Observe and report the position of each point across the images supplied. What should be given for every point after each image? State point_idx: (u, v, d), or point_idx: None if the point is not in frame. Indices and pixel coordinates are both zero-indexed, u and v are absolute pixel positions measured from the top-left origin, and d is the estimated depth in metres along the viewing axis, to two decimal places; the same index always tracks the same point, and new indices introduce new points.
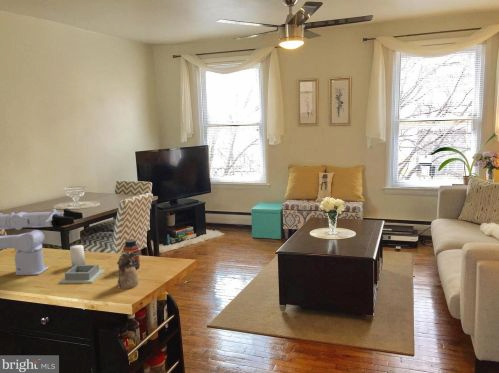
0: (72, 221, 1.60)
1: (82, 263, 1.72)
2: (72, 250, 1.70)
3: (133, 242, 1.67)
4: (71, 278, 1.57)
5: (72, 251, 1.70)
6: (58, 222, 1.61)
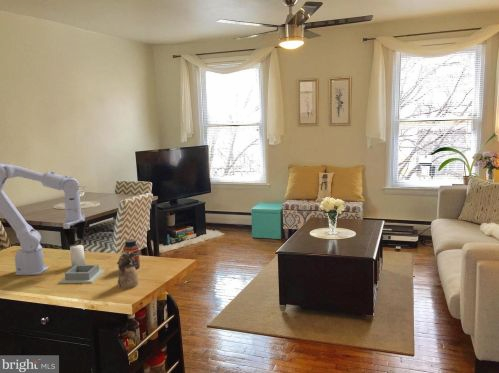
0: (71, 243, 1.68)
1: (82, 263, 1.72)
2: (72, 250, 1.70)
3: (133, 242, 1.67)
4: (71, 278, 1.57)
5: (72, 251, 1.70)
6: (69, 230, 1.67)
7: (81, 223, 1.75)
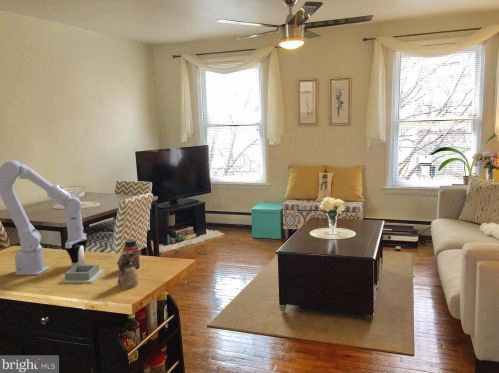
0: (74, 262, 1.70)
1: (82, 263, 1.72)
2: None
3: (133, 242, 1.67)
4: (71, 278, 1.57)
5: None
6: (72, 249, 1.69)
7: (82, 242, 1.75)
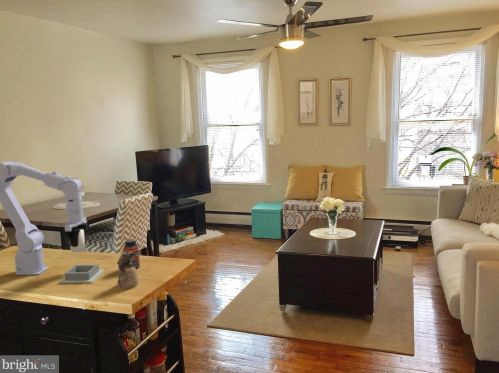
0: (73, 246, 1.64)
1: (82, 247, 1.66)
2: None
3: (133, 242, 1.67)
4: (71, 278, 1.57)
5: None
6: (72, 232, 1.63)
7: (82, 226, 1.69)
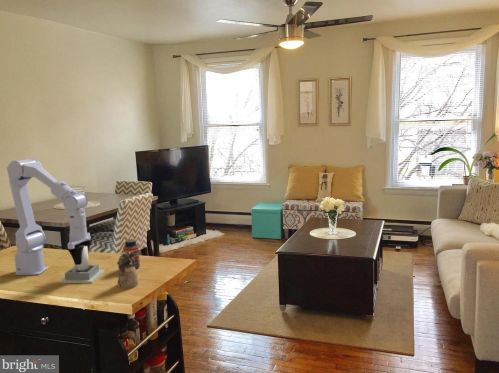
0: (77, 263, 1.58)
1: (86, 265, 1.60)
2: None
3: (133, 242, 1.67)
4: (71, 278, 1.57)
5: None
6: (75, 250, 1.56)
7: (85, 242, 1.62)
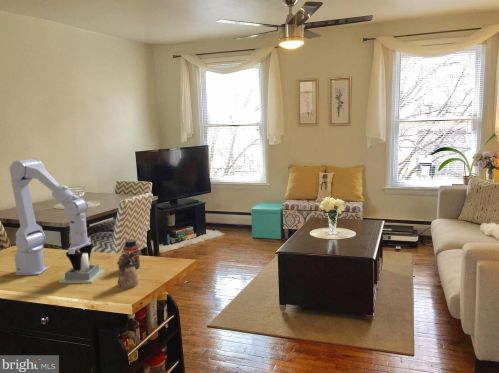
0: (76, 269, 1.57)
1: None
2: None
3: (133, 242, 1.67)
4: (71, 278, 1.57)
5: None
6: (74, 256, 1.56)
7: (87, 246, 1.64)
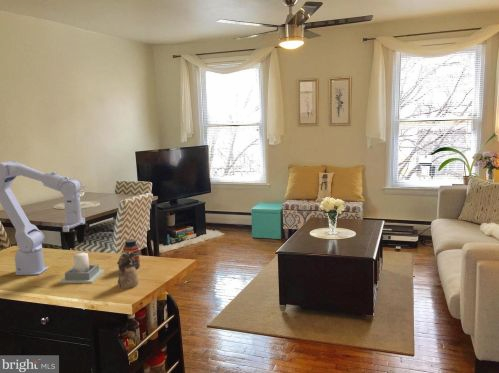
0: (70, 247, 1.63)
1: None
2: (76, 258, 1.58)
3: (133, 242, 1.67)
4: (71, 278, 1.57)
5: (76, 259, 1.58)
6: (68, 234, 1.62)
7: (81, 226, 1.69)
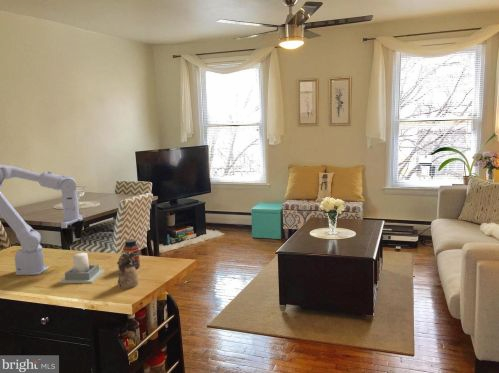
0: (68, 243, 1.68)
1: None
2: (75, 258, 1.58)
3: (133, 242, 1.67)
4: (71, 278, 1.57)
5: (75, 260, 1.58)
6: (66, 230, 1.67)
7: (79, 222, 1.75)
